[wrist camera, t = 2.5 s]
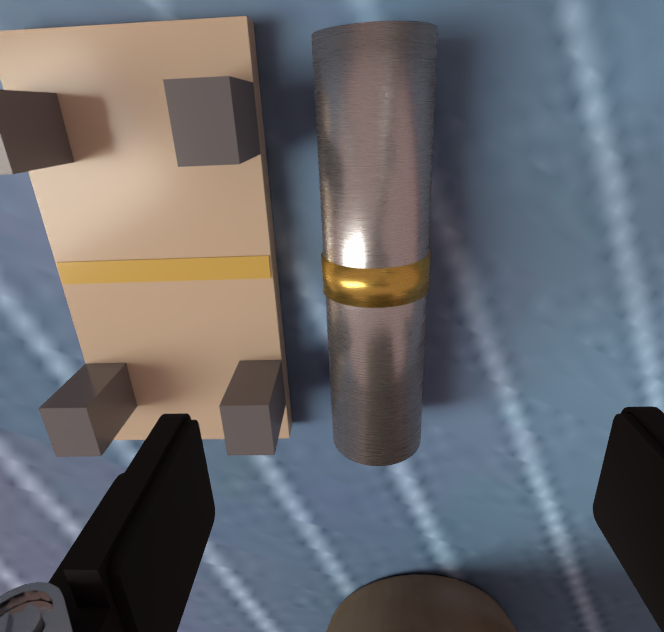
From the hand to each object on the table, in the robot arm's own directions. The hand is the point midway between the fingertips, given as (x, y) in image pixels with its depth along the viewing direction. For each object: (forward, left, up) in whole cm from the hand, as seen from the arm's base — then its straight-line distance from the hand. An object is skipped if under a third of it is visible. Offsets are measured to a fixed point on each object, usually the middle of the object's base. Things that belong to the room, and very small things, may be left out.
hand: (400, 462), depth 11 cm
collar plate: (+11, 0, -16) cm, 19 cm away
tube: (0, 0, -16) cm, 16 cm away
